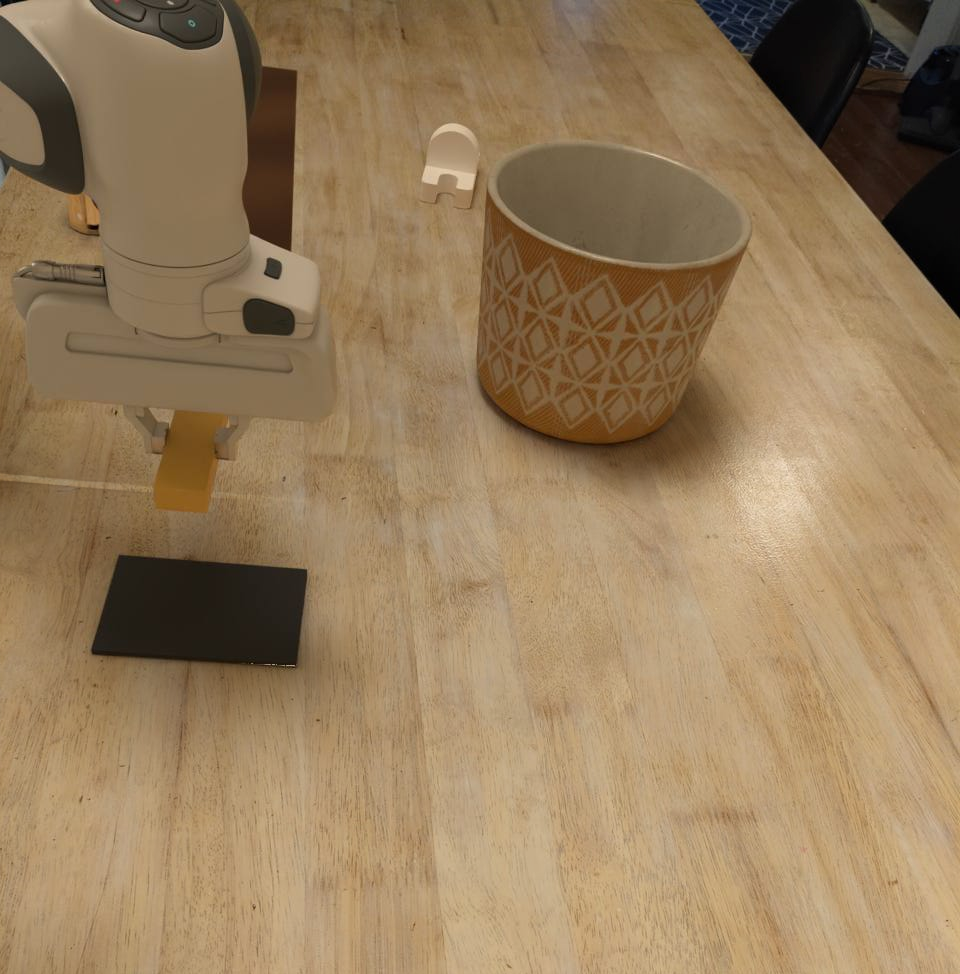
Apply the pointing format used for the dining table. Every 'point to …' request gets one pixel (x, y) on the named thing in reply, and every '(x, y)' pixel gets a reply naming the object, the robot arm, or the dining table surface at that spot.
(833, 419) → the dining table surface
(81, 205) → the beer glass
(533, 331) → the planter
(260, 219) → the lid
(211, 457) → the stick of butter
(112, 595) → the mat
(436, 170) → the slotted bracket
